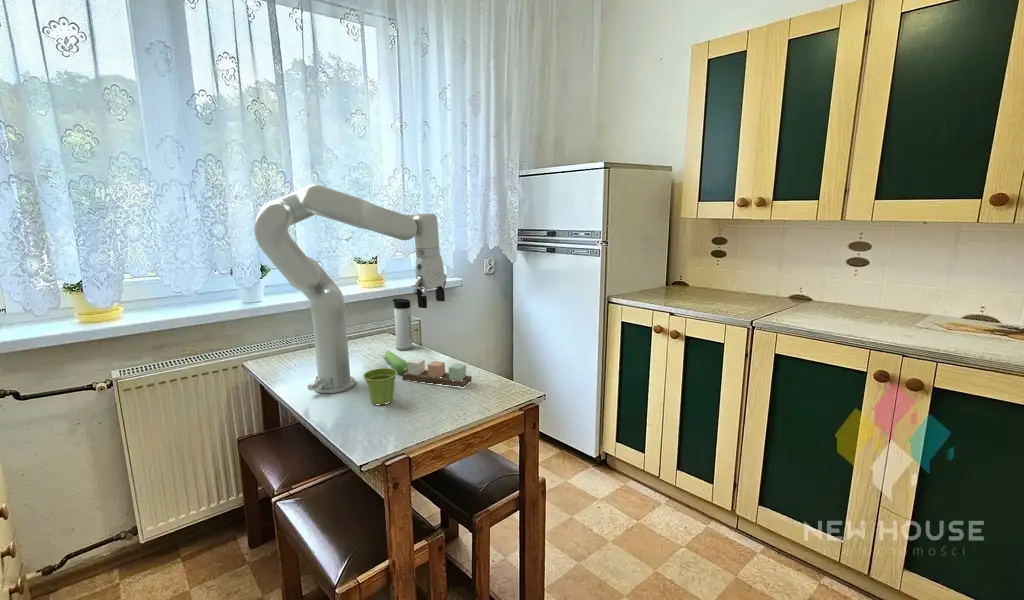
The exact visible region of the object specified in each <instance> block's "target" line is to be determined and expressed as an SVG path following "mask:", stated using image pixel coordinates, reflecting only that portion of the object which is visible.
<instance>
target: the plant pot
mask: <svg viewBox="0 0 1024 600" xmlns="http://www.w3.org/2000/svg"><path fill="white" fill-rule="evenodd" d="M397 374H398V373H397V371H396V370H394V369H393V368H389V367H388V368H387V367H383V368H375V369H371V370H369V371H366V372H364V373H363V376H362V377H363V379H365V382H366V385H367V389H368V393H369V397H370V402H371V404H372V403H374V404H382V405H383V404H385V403H388V402H391V401H392V400H393V401H394V391H395V380H396V377H397ZM393 401H392V402H393ZM392 402H391V403H392ZM374 404H373V405H374Z"/></svg>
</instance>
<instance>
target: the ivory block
mask: <svg viewBox="0 0 1024 600" xmlns="http://www.w3.org/2000/svg"><path fill="white" fill-rule="evenodd" d="M406 362H407V364H408V374H413V375H416V376H419V375H420V374H421V373H423V372H424V371H425V370H426V365H425V362H426V361H425V359H421V358H411V359H410V360H409V361H406Z"/></svg>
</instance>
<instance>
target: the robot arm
mask: <svg viewBox="0 0 1024 600" xmlns="http://www.w3.org/2000/svg"><path fill="white" fill-rule="evenodd" d="M315 215H316V216H319V217H323V218H326V219H330V220H333V221H335V222H340V223H341V224H346V225H348V226H351V227H355V228H358V229H364V230H367V231H372V232H375V233H377V234H380V235H381V234H382V235H384V236H388V237H391V238H394V239H397V240H400V241H410V240H411V239H413V238H414V242H415V243H414V245H415V255H416V258H415V259H416V260H415V280H414V281H413V282H412V284H411V287H412V289H413V292H414V294H415V296H416V297H417V307H418V308H420V309H427V308H428V300H427V299H428V298H427V295H426V293H427V290H433V289H435V300H436V301H437V302H445V301H446V300H445V299H446V297H445V289H446V283H447V277H448V274H446V273H445V268H444V263H443V259H442V255H441V253H440V250H441V249H440V239H439V238H440V237H439V225H438V223H439V222H438V217H437V214H434V213H418V214H403V213H400V212H397V211H394V210H391V209H387V208H385V207H382V206H379V205H376V204H374V203H371V202H370V201H367V200H365V199H362V198H359V197H357V196H353V195H351V194H347V193H345V192H341V191H339V190H336V189H332V188H329V187H326V186H323V185H320V184H316V183H310V184H307V185H306V186H305V187H303V188H300V189H299V190H296V191H294V192H292V193H290V194H289V193H288V194H287V195H285V196H282V197H279V198H277V199H274V200H271V201H268V202H266V203H265V204H264V205H263V206H262V207H261V208H260V209H259V211H258V213H257V215H256V218H255V221H254V227H253V228H254V230H253V231H254V235H255V236H254V237H255V240H256V242H257V244H258V246H259V248H260V249H261V251H262V252H263V253H264V254H265V255H266V257H267V258H268V259H269V260H270V261H271V262H272V264H273V265H274V267H275V268H276V269H277V270H278V271H279V272H280V274H281V275H283V277H284V278H285V279H286V280H287V282H288V284H290V286H291V287H292V288H293V289H296V290H297V291H300V292H301V293H303V295H304V296H305V297H306V299H308V300H309V302H310V312H311V318H312V319H311V320H312V328H313V329H312V330H313V339H314V340H313V341H314V348H315V349H314V350H315V359H316V370H317V376H315V380H314V381H313V382H311V383H309V384H308V385H307V389H308V390H309V391H311V392H312V391H315V392H316V393H322V394H337V393H341V392H344V391H345V392H346V391H348V390H350V389H352V388H353V387H355V385H356V383H357V382H356V378H354V377H353V376H351V371H350V358H349V357H350V356H349V346H348V343H349V342H348V334H347V333H348V332H347V321H346V319H347V318H346V317H347V316H346V303H345V302H346V301H345V298H344V295H343V293H342V291H341V289H340V287H339V286H338V285H337V284H336V283H335V282H334V280H333V279H332V278H331V277H330V275H329V274H328V273H327V272H326V271H325V270H324V269H323V268H322V266H321V265H320V264H319V263H318V261H316V260H315V259H314V258H312V257H309V256H308V255H306V254H305V252H304V251H302V249H301V248H300V247H299V245H298V243H296V241H295V240H294V239H293V238H292V237H291V235H290V233H289V227H291V226H292V225H293V226H294V225H296V224H298V223H299V222H302V221H304V220H307V219H308V218H311V217H312V216H315Z"/></svg>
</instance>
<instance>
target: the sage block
mask: <svg viewBox="0 0 1024 600" xmlns="http://www.w3.org/2000/svg"><path fill="white" fill-rule="evenodd" d="M448 373H449V380H454V381H455V380H456V381H459V382H462V381H461V380H463V379H464V378H465V377H466V376H467V366H466V364H463V363H462V364H461V363H453V364H452V365H450V366H449V367H448Z"/></svg>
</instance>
